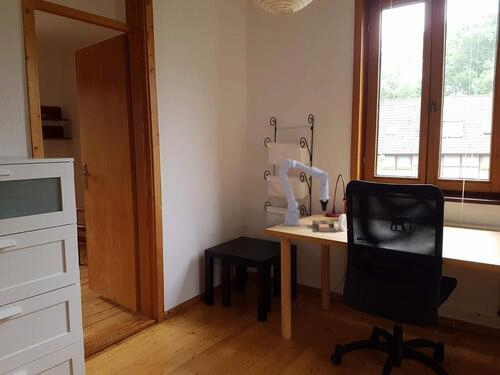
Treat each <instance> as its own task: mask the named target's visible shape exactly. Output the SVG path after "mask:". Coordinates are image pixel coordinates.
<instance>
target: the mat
mask: <svg viewBox="0 0 500 375" xmlns="http://www.w3.org/2000/svg"><path fill="white" fill-rule="evenodd" d="M329 229H330V231H319V228H313V227H312V232H313V233H338V231H337V229H336V228H335V227H334V228H329Z"/></svg>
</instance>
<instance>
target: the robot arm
mask: <svg viewBox="0 0 500 375" xmlns="http://www.w3.org/2000/svg"><path fill="white" fill-rule="evenodd" d="M291 168H298V169H300V170H303V171H306V172H307V173H308V176H311V177H314V178H315V179H319V183H318V185H319V197H318V198H319V203H320V206H321V211H322V212H326V211H327V206H328V204H329V199H331V196H329V173H327V172H326V171H324V170H323V169H318V168H317V166H311V167H309V166H308V165H305V164H304V163H302V162H299V161H298V160H295V159H291V158H289V157H288V158H285V159H283V160H282V161H281V163H280V165H279V168H278V176H279V179H280V183H281V185H282V188H283V191H284V194H285V197H286V200H287V209H288V210H287V211H284V226H285V227H286V226H289V227H290V226H300V224H301V223H300V212H299V211H300V210H298V209H299V202H298V201H297V200H296V198H295V196H294V194H293V190H292V186H291V185H290V181H289V178H288V175H287V173H288V171H289V169H291Z"/></svg>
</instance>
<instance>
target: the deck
mask: <svg viewBox="0 0 500 375" xmlns="http://www.w3.org/2000/svg"><path fill="white" fill-rule="evenodd" d="M333 220H334V219H333ZM333 220H332V219H331V220H330V219H329V220H327V219H326V220H314V219H313V220H312V229H313V228H319V224H328V225H329V228H335V222H334V221H333Z"/></svg>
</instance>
